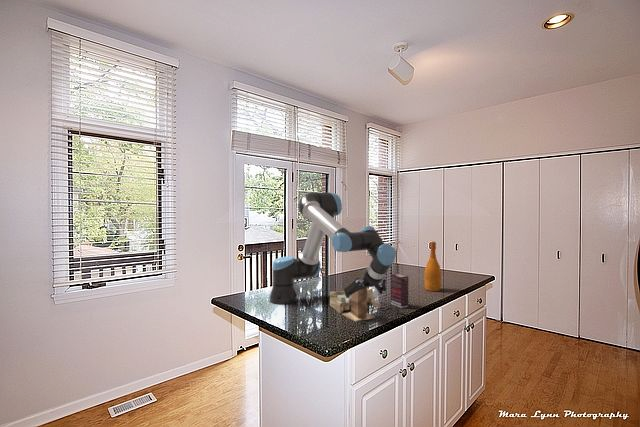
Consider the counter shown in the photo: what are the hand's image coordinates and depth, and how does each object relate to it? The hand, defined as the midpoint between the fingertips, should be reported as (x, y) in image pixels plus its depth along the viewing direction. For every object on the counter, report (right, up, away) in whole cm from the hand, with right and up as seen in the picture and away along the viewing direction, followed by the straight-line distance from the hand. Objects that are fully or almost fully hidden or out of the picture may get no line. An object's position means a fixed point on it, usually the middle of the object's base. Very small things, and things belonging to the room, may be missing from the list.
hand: (360, 299), depth 159 cm
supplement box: (+23, -8, +19) cm, 31 cm away
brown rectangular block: (-1, -8, +1) cm, 8 cm away
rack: (+1, -8, +16) cm, 18 cm away
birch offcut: (-7, -8, +14) cm, 17 cm away
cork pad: (-1, -8, +1) cm, 9 cm away
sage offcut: (-7, -5, +13) cm, 16 cm away
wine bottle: (+51, -8, +53) cm, 74 cm away
